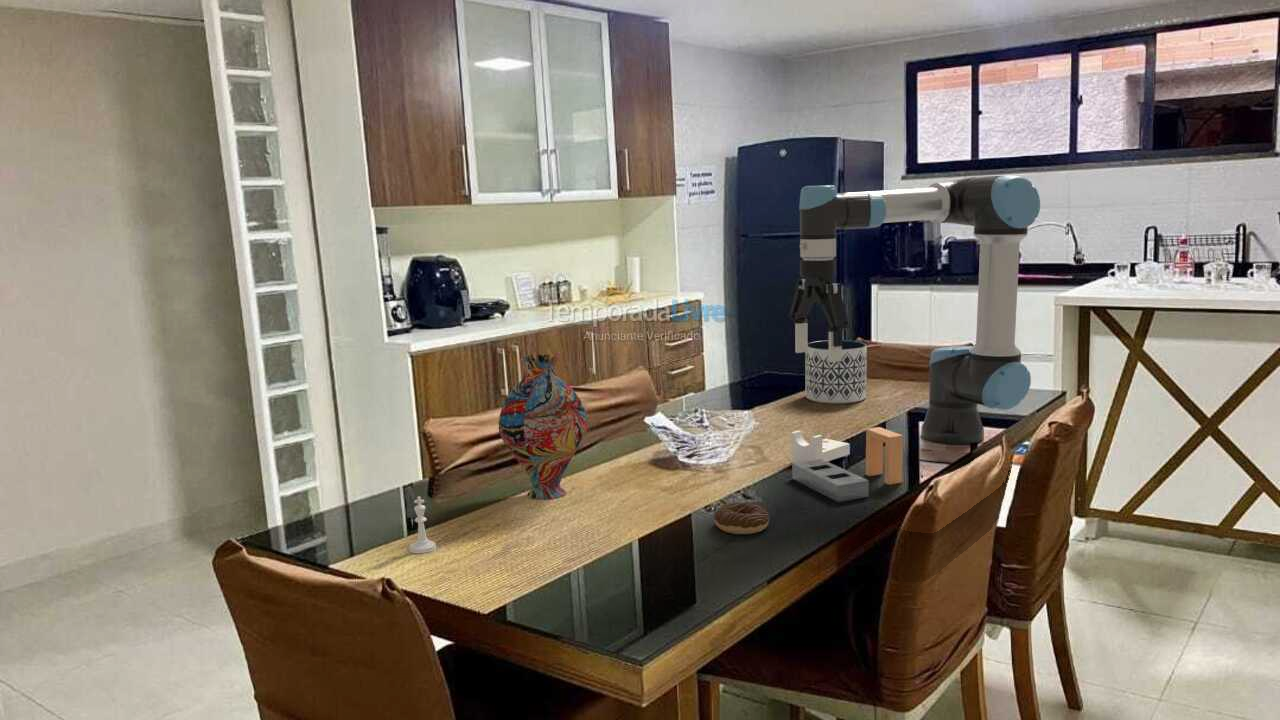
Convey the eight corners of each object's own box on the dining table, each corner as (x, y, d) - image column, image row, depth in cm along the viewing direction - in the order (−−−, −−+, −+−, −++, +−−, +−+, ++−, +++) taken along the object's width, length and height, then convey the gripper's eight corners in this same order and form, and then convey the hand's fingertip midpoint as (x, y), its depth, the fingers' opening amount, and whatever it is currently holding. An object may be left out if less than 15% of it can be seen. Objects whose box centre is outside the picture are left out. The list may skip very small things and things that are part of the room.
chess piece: (411, 544, 180) (407, 493, 178) (437, 543, 180) (434, 492, 178) (407, 554, 175) (403, 501, 173) (434, 552, 175) (430, 500, 173)
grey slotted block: (821, 474, 215) (821, 459, 214) (868, 496, 198) (868, 480, 198) (792, 478, 212) (792, 463, 212) (837, 502, 196) (837, 485, 195)
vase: (603, 484, 213) (597, 351, 208) (569, 511, 195) (562, 367, 190) (526, 478, 219) (519, 349, 214) (487, 504, 201) (478, 364, 196)
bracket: (815, 469, 219) (815, 437, 218) (791, 463, 225) (791, 432, 223) (849, 458, 228) (849, 427, 227) (825, 452, 233) (825, 422, 232)
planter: (872, 403, 282) (872, 348, 279) (810, 405, 282) (810, 350, 279) (859, 390, 300) (859, 339, 297) (801, 392, 300) (801, 340, 297)
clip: (878, 472, 215) (879, 427, 213) (902, 482, 207) (903, 435, 205) (865, 474, 214) (866, 428, 212) (888, 484, 206) (889, 437, 204)
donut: (712, 518, 189) (712, 499, 188) (766, 517, 188) (766, 498, 188) (715, 538, 178) (714, 517, 178) (772, 537, 178) (772, 516, 177)
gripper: (773, 256, 214) (774, 350, 218) (835, 263, 191) (834, 367, 195) (802, 254, 217) (802, 347, 220) (866, 261, 194) (865, 364, 198)
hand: (817, 356), depth 208 cm, fingers open, 13 cm apart
